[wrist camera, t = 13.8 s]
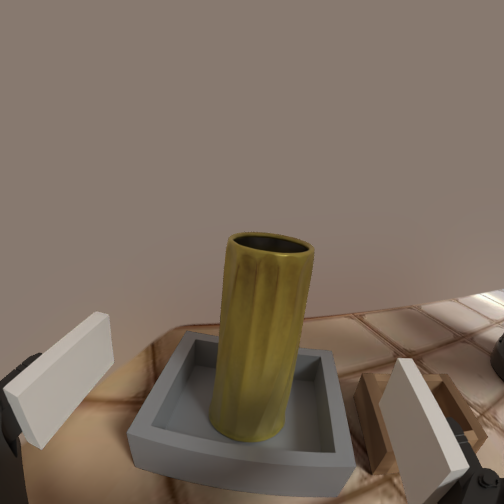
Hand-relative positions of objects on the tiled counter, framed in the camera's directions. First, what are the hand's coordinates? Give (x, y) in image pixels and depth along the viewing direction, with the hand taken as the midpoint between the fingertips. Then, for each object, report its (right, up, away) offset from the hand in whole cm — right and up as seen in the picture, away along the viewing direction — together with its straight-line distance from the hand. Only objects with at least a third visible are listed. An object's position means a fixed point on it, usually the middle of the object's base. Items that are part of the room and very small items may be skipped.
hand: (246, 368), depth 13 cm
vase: (0, -8, +10) cm, 13 cm away
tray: (0, -9, +10) cm, 14 cm away
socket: (+15, -11, +9) cm, 20 cm away
